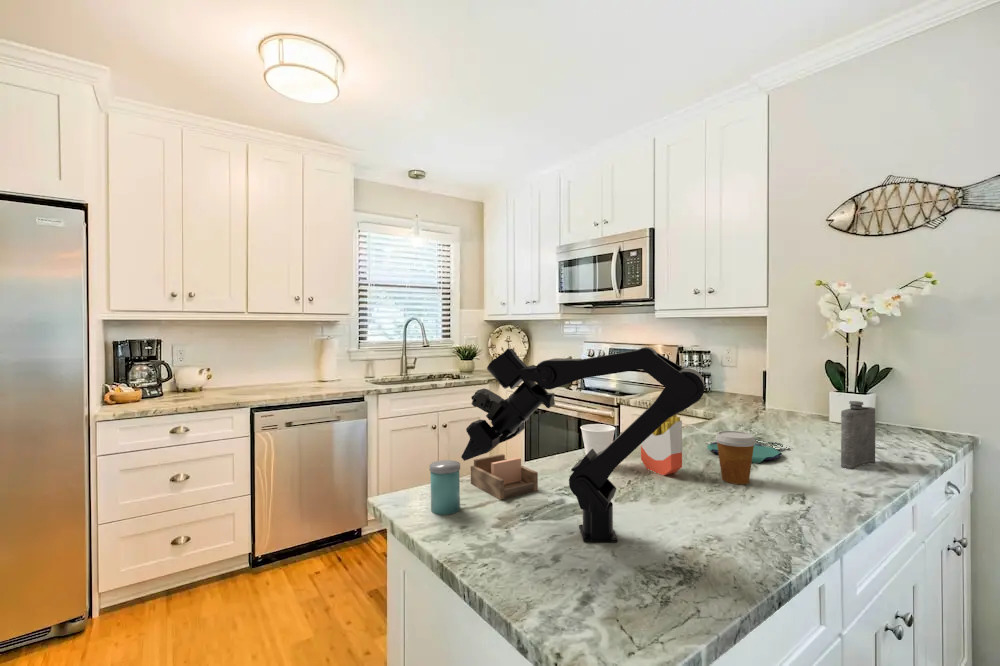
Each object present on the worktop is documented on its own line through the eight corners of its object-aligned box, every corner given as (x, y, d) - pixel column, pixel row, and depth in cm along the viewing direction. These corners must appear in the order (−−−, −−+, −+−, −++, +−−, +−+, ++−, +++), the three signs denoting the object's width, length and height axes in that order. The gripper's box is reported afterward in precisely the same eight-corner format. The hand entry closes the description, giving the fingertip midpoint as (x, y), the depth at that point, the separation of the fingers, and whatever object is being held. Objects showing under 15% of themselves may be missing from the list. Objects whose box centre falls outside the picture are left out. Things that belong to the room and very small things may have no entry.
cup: (616, 471, 130) (616, 432, 130) (580, 469, 132) (579, 430, 132) (615, 461, 140) (614, 424, 140) (581, 459, 142) (581, 423, 142)
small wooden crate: (537, 490, 116) (537, 466, 116) (500, 500, 110) (500, 474, 110) (506, 475, 128) (505, 453, 128) (470, 483, 122) (470, 460, 122)
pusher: (521, 480, 119) (521, 458, 119) (493, 487, 115) (493, 464, 115) (518, 479, 120) (518, 457, 120) (491, 485, 116) (491, 462, 116)
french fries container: (670, 478, 124) (669, 410, 123) (639, 468, 133) (639, 404, 133) (682, 476, 126) (682, 409, 125) (651, 465, 135) (651, 403, 135)
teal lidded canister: (458, 515, 101) (458, 469, 101) (427, 515, 102) (426, 469, 101) (462, 503, 108) (461, 460, 108) (432, 503, 108) (432, 460, 108)
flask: (835, 466, 133) (836, 402, 133) (862, 459, 139) (863, 398, 139) (850, 469, 130) (850, 404, 129) (877, 462, 136) (877, 400, 136)
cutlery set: (695, 452, 149) (695, 445, 149) (744, 440, 166) (745, 433, 166) (760, 469, 132) (760, 460, 132) (807, 453, 150) (807, 445, 150)
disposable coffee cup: (713, 483, 120) (713, 436, 120) (716, 472, 128) (716, 428, 128) (756, 489, 115) (756, 440, 115) (755, 477, 124) (755, 432, 124)
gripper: (511, 372, 108) (469, 417, 113) (474, 382, 91) (426, 434, 95) (544, 409, 105) (499, 453, 110) (512, 425, 88) (461, 477, 92)
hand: (473, 453), depth 102 cm, fingers open, 9 cm apart
